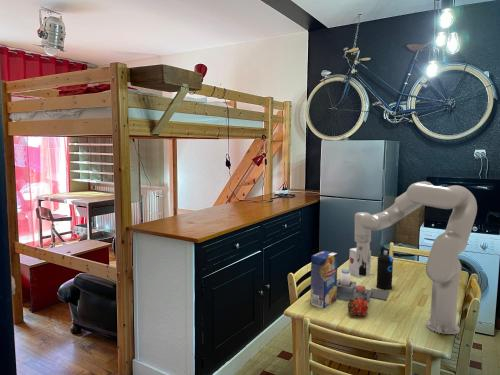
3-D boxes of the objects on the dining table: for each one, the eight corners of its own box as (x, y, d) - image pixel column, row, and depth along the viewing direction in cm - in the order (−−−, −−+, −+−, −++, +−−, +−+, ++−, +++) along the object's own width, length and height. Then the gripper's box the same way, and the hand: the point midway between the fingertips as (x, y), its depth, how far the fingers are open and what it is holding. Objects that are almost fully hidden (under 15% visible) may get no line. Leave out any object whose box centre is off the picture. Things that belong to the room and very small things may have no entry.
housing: (367, 304, 178) (367, 294, 178) (330, 297, 187) (330, 288, 186) (372, 294, 191) (372, 284, 191) (337, 287, 200) (337, 278, 199)
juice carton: (324, 308, 174) (325, 258, 171) (310, 304, 179) (311, 255, 176) (336, 300, 183) (337, 253, 180) (323, 296, 188) (324, 250, 185)
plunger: (364, 298, 180) (364, 289, 179) (354, 296, 182) (354, 288, 181) (366, 295, 184) (366, 286, 183) (356, 293, 186) (356, 284, 185)
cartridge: (348, 291, 189) (349, 272, 188) (338, 290, 192) (339, 271, 190) (350, 288, 194) (351, 269, 193) (341, 286, 196) (341, 268, 195)
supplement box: (348, 272, 223) (349, 248, 222) (359, 270, 227) (360, 246, 225) (358, 277, 215) (359, 252, 213) (370, 275, 219) (371, 250, 217)
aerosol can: (374, 288, 199) (376, 252, 197) (377, 283, 206) (378, 248, 204) (391, 291, 195) (392, 254, 193) (393, 286, 202) (394, 250, 200)
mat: (386, 300, 183) (386, 299, 183) (367, 297, 187) (367, 296, 187) (389, 292, 194) (389, 291, 194) (371, 289, 198) (371, 288, 198)
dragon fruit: (347, 321, 165) (362, 317, 173) (362, 315, 160) (377, 311, 168) (340, 302, 169) (355, 299, 177) (354, 296, 164) (369, 293, 171)
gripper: (368, 242, 171) (367, 281, 173) (373, 235, 184) (373, 271, 186) (351, 240, 174) (351, 278, 176) (357, 234, 188) (357, 269, 189)
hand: (362, 275), depth 181 cm, fingers closed
